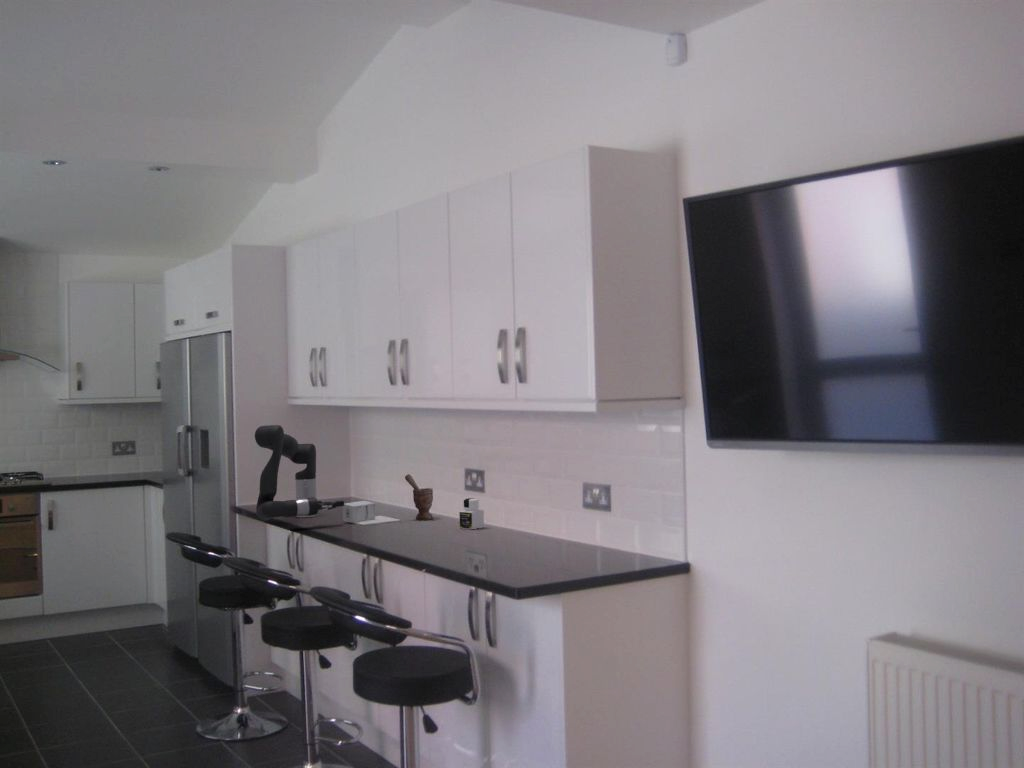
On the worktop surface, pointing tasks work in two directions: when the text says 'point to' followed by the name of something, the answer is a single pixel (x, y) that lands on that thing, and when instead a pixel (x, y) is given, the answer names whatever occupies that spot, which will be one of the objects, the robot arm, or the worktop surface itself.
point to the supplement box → (359, 511)
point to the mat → (376, 521)
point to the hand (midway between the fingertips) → (343, 503)
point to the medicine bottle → (471, 515)
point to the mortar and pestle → (421, 499)
